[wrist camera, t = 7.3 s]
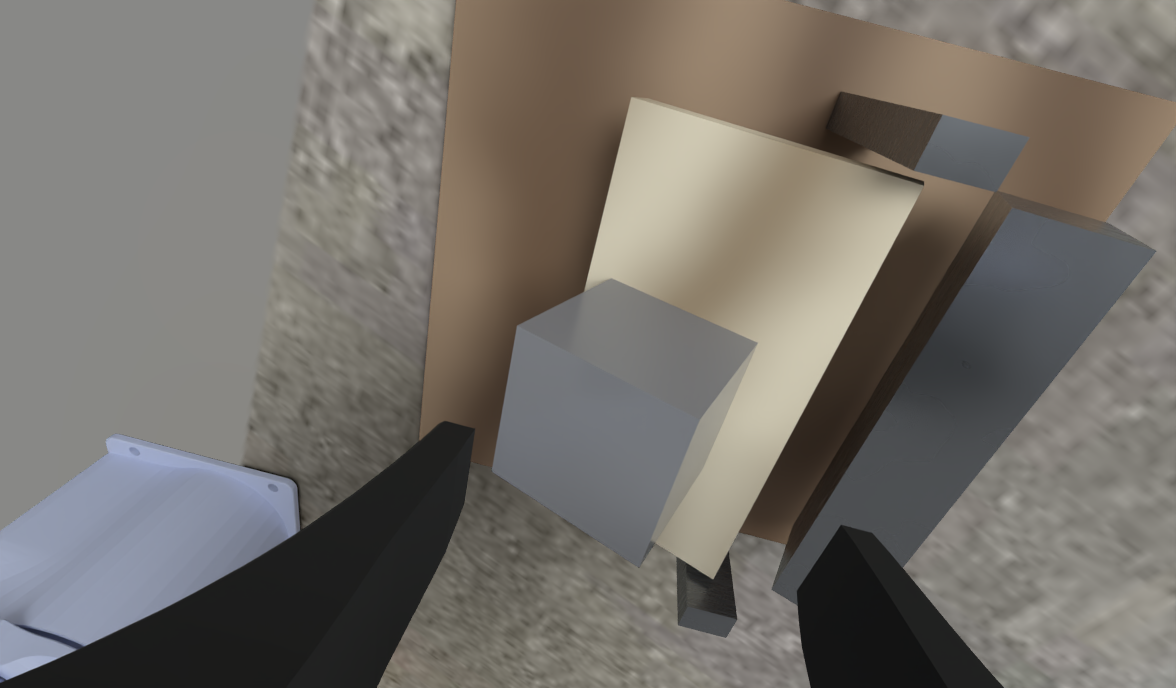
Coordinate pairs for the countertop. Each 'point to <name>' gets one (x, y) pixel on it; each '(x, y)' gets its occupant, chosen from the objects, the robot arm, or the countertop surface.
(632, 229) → the trapdoor
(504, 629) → the countertop surface
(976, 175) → the frame
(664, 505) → the grey cube
